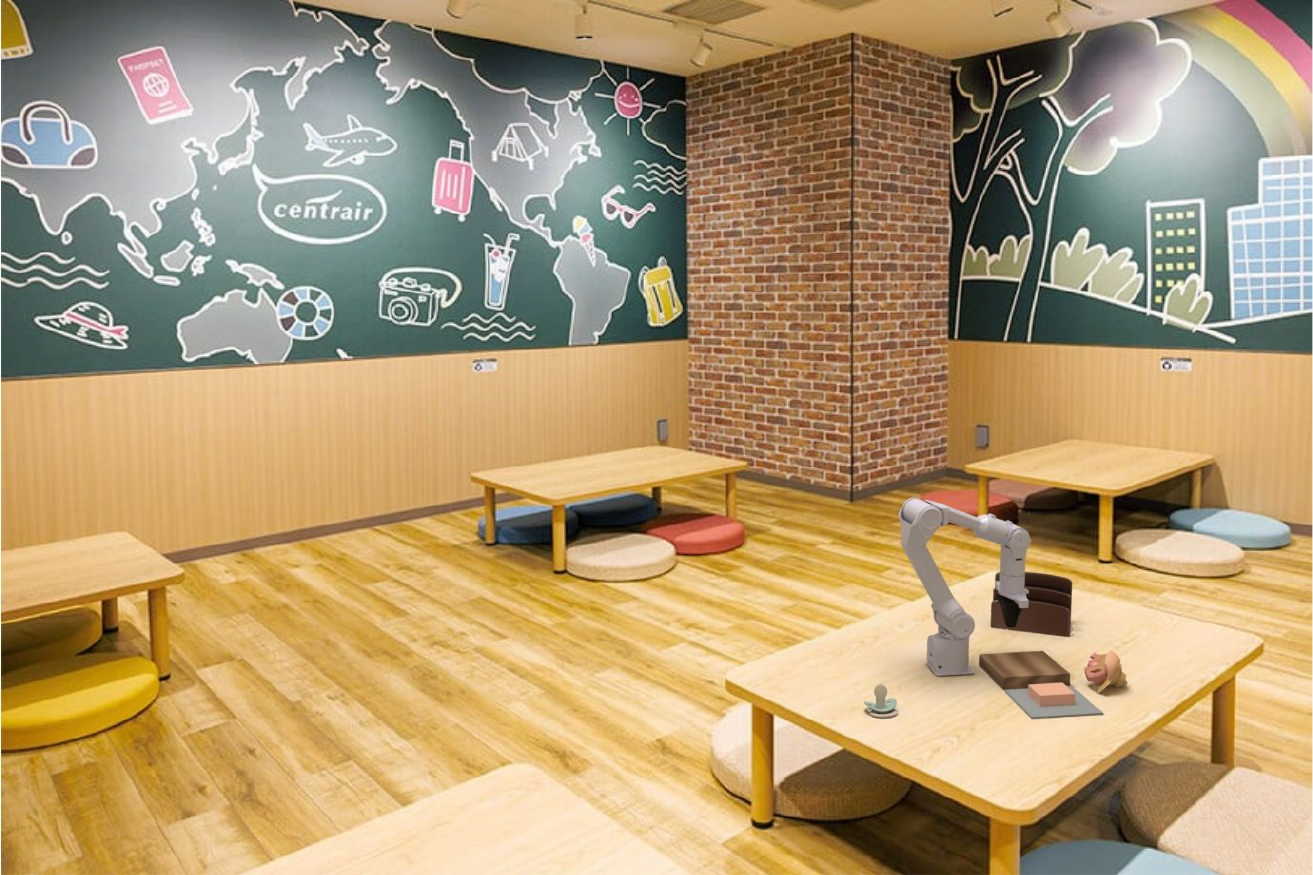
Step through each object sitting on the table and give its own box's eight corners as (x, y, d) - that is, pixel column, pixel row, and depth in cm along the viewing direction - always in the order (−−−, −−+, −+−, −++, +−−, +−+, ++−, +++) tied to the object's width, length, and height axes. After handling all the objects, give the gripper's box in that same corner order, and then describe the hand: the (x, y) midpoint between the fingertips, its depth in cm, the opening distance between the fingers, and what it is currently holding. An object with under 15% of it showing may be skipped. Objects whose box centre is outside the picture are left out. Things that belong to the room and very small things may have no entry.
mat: (1031, 718, 211) (1031, 717, 211) (1004, 691, 225) (1004, 689, 225) (1103, 714, 212) (1103, 712, 212) (1071, 687, 226) (1072, 685, 226)
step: (1002, 689, 226) (1003, 677, 225) (979, 665, 240) (979, 654, 239) (1069, 685, 227) (1070, 673, 226) (1042, 662, 241) (1042, 650, 240)
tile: (1028, 684, 221) (1027, 694, 222) (1040, 695, 215) (1039, 706, 216) (1062, 682, 222) (1061, 692, 222) (1075, 693, 216) (1074, 704, 216)
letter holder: (994, 616, 273) (995, 567, 271) (1070, 625, 265) (1073, 575, 262) (990, 628, 264) (991, 578, 262) (1069, 637, 256) (1071, 586, 253)
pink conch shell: (1119, 680, 230) (1143, 664, 223) (1107, 712, 224) (1131, 697, 217) (1084, 656, 232) (1107, 640, 225) (1071, 688, 226) (1094, 672, 219)
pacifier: (903, 717, 214) (892, 705, 220) (903, 691, 213) (892, 679, 219) (871, 721, 213) (861, 708, 219) (871, 694, 212) (861, 682, 217)
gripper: (1041, 581, 230) (1039, 636, 232) (1015, 563, 244) (1014, 615, 247) (1012, 583, 230) (1010, 637, 232) (988, 564, 244) (986, 616, 246)
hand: (1010, 626), depth 239 cm, fingers closed
